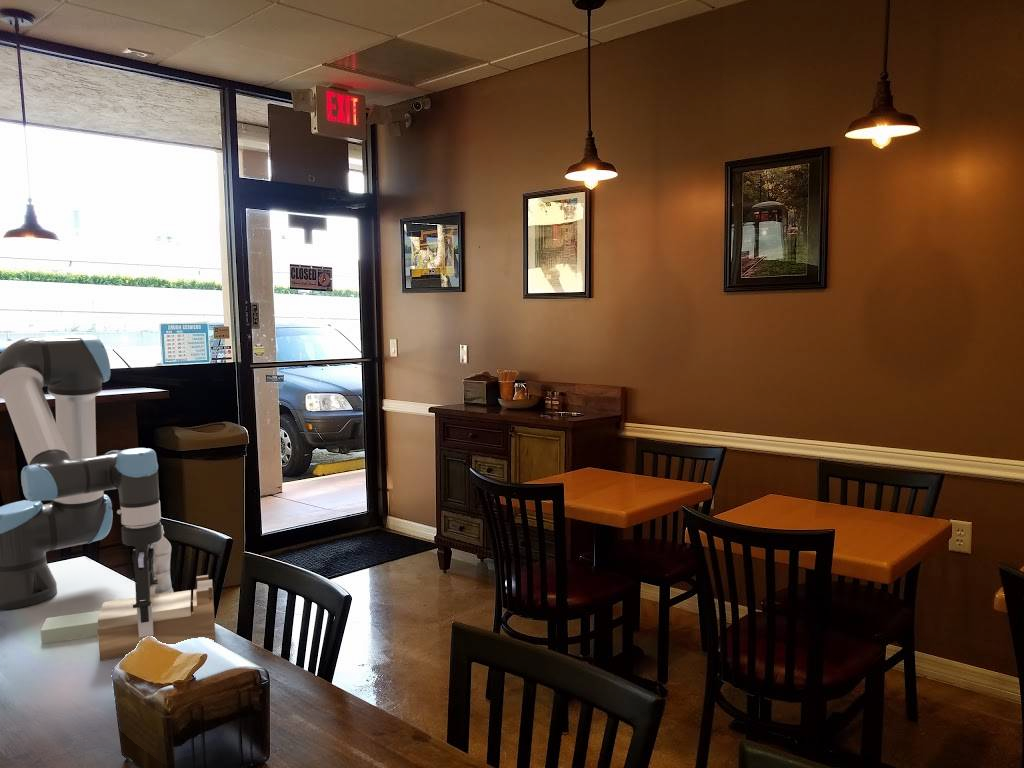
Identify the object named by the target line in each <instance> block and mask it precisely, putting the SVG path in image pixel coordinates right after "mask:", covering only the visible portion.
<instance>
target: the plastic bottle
mask: <svg viewBox="0 0 1024 768" xmlns="http://www.w3.org/2000/svg"><path fill="white" fill-rule="evenodd" d="M161 530H162V538H161V539H160V540H159V541H158V542H156V543H153V544H152V543H151V546H152V547H154V555H153V556H154V563H153V569H154V575H155V577H154V580H156V579H158V584H155V585H152V586H155V595H158V594H166V593H173V592H174V588H173V587H172V580H171V557H172V556H171V555H172V545H171V543H170V541H169V540H168V539H167V538H166V537H165V536H164V534H165V531H164V526H163V525H162V524H161Z"/></svg>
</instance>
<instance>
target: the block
mask: <svg viewBox="0 0 1024 768" xmlns="http://www.w3.org/2000/svg"><path fill="white" fill-rule="evenodd" d="M205 588H208V589H209V599H210V598H213V599H214V587H213V579H212V578H211V579H208V580H204V581H197V580H196V589H205Z"/></svg>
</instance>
